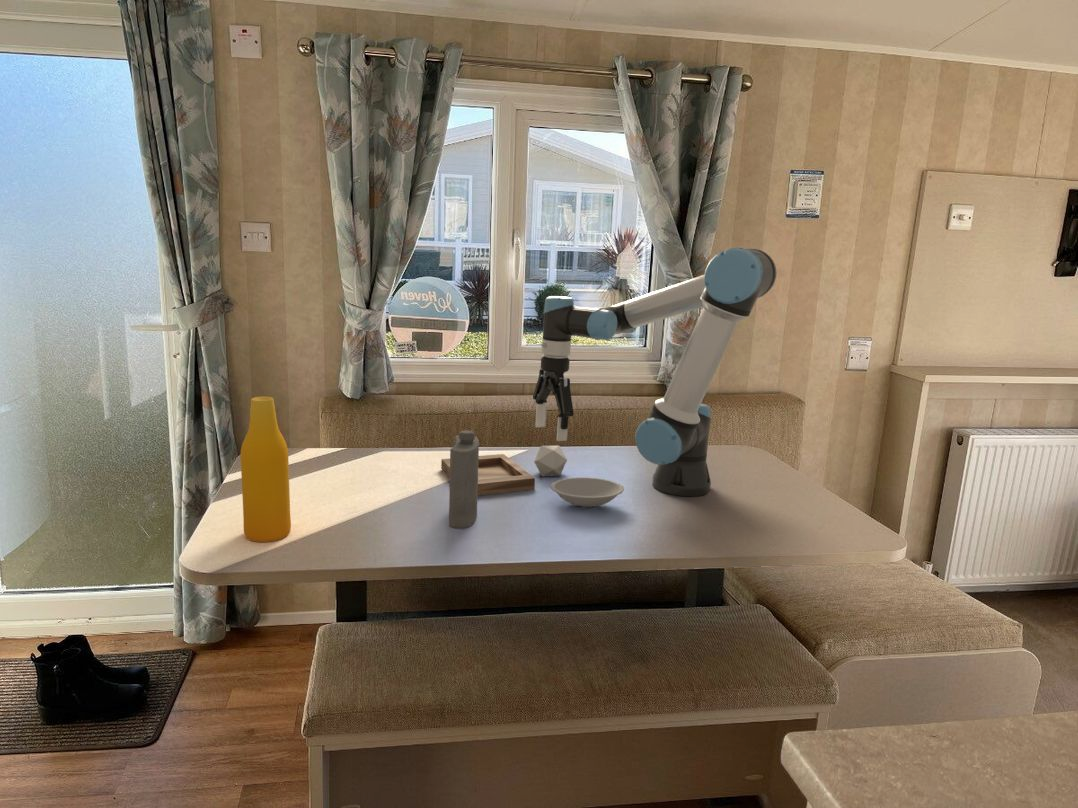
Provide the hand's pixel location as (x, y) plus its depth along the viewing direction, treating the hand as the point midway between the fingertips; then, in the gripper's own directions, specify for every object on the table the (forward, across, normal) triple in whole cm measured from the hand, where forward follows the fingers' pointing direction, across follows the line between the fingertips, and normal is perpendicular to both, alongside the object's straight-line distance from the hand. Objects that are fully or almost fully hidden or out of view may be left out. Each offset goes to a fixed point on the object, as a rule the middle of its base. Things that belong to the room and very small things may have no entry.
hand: (550, 433), depth 199 cm
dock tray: (+12, 0, -18) cm, 21 cm away
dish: (+11, +26, -2) cm, 28 cm away
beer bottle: (+12, +20, -74) cm, 77 cm away
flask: (+12, +22, -32) cm, 41 cm away
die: (+12, 0, 0) cm, 12 cm away
